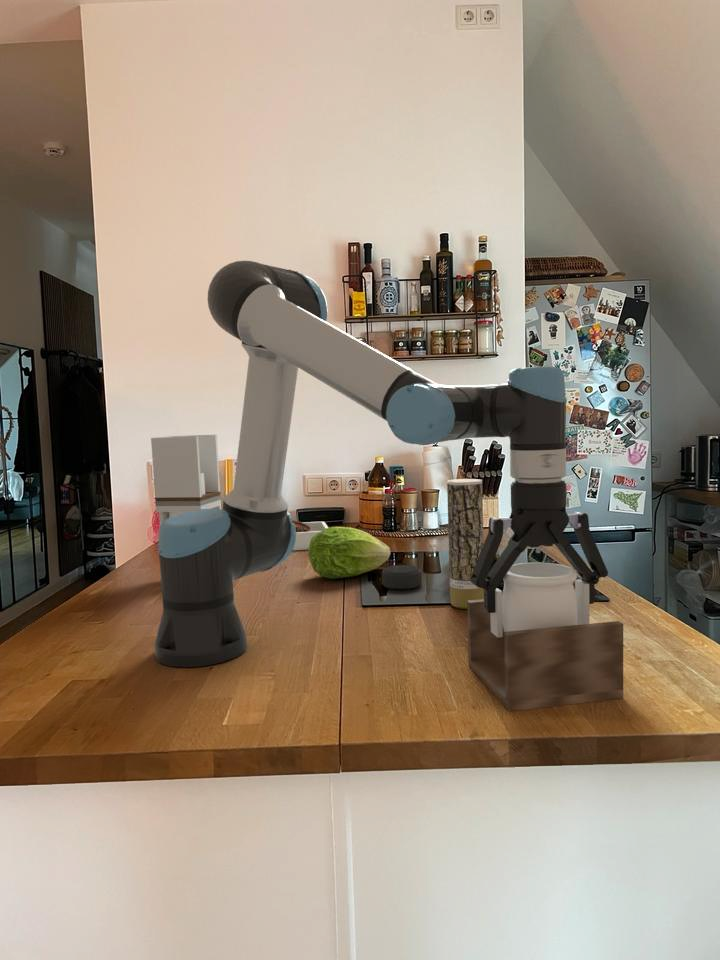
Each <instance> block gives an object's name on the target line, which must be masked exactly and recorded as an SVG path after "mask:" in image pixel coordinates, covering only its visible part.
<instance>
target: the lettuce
mask: <svg viewBox="0 0 720 960" xmlns="http://www.w3.org/2000/svg"><path fill="white" fill-rule="evenodd" d="M307 552H308V558H309V563H310V564H311V568H312V570H313V572H315V573H316V574H318V576H321V577H323V578H326V579H332V580H335V579H343V578H344V579H345V578H353V577H356V576H360V575H361V574H364V573H365V574H366V573H368V572H370V571H373V570H375V569H377V568H378V567H380V566H381V565H382V564H384V563H386V562H387V560H389V559H390V555H391V548H390V547H389V546H388V545H387V544H386V543H384V542H383V541H381V540H379V539H378V538H377V537H375V536H373V535H372V534H370V533H368V532H366V531H364V530H362V529H359V528H358V529H357V528H355V527H354V528H353V527H349V526H330V527H328V528H327V529H324V530H323V531H321V532H319V533H318V534H316V535H315V536H313V537H312V538H311V541H310V545H309V549H307Z"/></svg>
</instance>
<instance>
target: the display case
mask: <svg viewBox="0 0 720 960" xmlns="http://www.w3.org/2000/svg"><path fill="white" fill-rule="evenodd" d="M150 442H151V443H150V445H151V458H152V471H153V485H154V487H153V489H154V499H155V512H156V513H158V520H159V527H160V526H161V524H162V523H163V522H164V521H165V520H167V519H168V518H170V517H173V516H175V515H178V514H181V513H185V512H189V511H196V510H201V509H222V498H221V483H220V482H221V481H220V465H219V450H218V449H219V447H218V446H219V445H218V435H217V434H193V435H190V434H189V435H169V436H160V437H159V436H158V437H150ZM160 586H161V588H162V584H161V583H160Z"/></svg>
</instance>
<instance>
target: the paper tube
mask: <svg viewBox="0 0 720 960" xmlns="http://www.w3.org/2000/svg"><path fill="white" fill-rule="evenodd" d="M446 485H447V487H446V488H447V489H446V491H447V492H446V493H447V531H448V565H449V567H448V568H449V571H448V572H449V596H450V597H449V599H450V600H449V601H450V604H451V605H452V606H453V607H454V608H457V609H462V610H467V601H468V600H480V599H484V590H483V588H479V587H477V586H475V585H474V584H473V583H471V581H470V577H471V575H472V572H473V570H474V567H475V565H476V562H477V560H478V557H479V555H480V552H481V550H482V547H483V545H484V508H483V507H484V505H483V503H484V501H483V500H484V499H483V479H480V478H479V479H477V478H456V479H455V478H454V479H449V480H447V483H446Z"/></svg>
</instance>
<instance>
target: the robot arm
mask: <svg viewBox="0 0 720 960" xmlns="http://www.w3.org/2000/svg"><path fill="white" fill-rule="evenodd" d="M207 306H208V309H209V312H210V315H211V317H212V319H213V321H214V322H215V323H216V324H217V325H218V326H219V327H220V328H221V329H222V330H224V331H225V332H226V333H228V334H230V335H231V336H232V337H235V338H236V339H238V340H239V341H241V347H242V349H244V351H245V352H246V353H247V356H248V363H247V370H246V372H247V373H246V379H245V380H246V381H245V388H244V395H243V396H244V398H243V404H242V405H243V406H242V413H241V414H242V415H241V421H240V422H241V424H240V432H239V438H238V439H239V441H238V448H237V456H236V466H235V473H234V481H233V489H232V490H230V491H229V492H228V493H227V494H226V495H224V497H223V501H222V503H223V504H222V508H221V509H201V510H196V511H189V512H185V513H181V514H178V515H175V516H173V517H170V518H168V519H167V520H165V521H164V522H163V523H162V524H161V526H160V525H159V528H158V544H157V553H158V556H159V557H158V559H159V570H160V585H161V584H162V587H161V597H162V614H161V617H160V622H159V626H158V629H157V634H156V637H155V641H154V655H155V656H154V657H155V660H156V661H157V662H158V663H160V664H163V665H165V666H169V667H175V668H176V667H179V668H194V667H195V668H197V667H205V666H206V667H207V666H210V665H211V666H212V665H216V664H220V663H224V662H227V661H230V660H233V659H235V658H237V657H239V656H241V655H242V654H243V653H245V652H246V650H247V649H248V639H247V638H248V637H247V636H248V635H247V632H246V629H245V627H244V625H243V622H242V620H241V617H240V614H239V612H238V610H237V607H236V603H235V596H234V595H235V594H234V581H235V580H239V579H242V578H244V577H248V576H251V575H254V574H257V573H260V572H261V573H262V572H267V571H270V570H272V569H273V568H274V567H276V566H278V565H280V564H282V563H284V562H285V560H287V559H288V558H289V556H290V555H291V554H292V552H293V551H294V550H293V547H294V544H295V540H296V528H295V524H294V523H292V521H291V520H293V518H292V515H291V514H290V513H289V511H288V510H289V509H288V507H289V504H288V502H287V500H285V498H284V497H283V496H282V490H283V481H284V475H285V467H286V460H287V451H288V445H289V439H290V430H291V424H292V416H293V415H292V414H293V408H294V403H295V394H296V388H297V387H296V386H297V380H298V379H297V378H298V371H299V369H300V370H302V371H303V372H305V373H306V374H309V375H310V376H312V377H313V378H315V379H317V380H319V381H320V382H322V383H323V384H325V385H327V386H329V388H331V389H333V390H335V391H337V393H340V394H342V395H343V396H344V397H347V398H348V399H350V400H351V401H352V402H355V403H357V404H358V405H359V406H361V407H363V408H364V409H366V410H368V411H370V412H371V413H373V414H375V416H377V417H379V418H381V419H383V420H385V421H386V422H387V425H388V427H389V428H390V430H391V432H392V434H393V435H394V436H395V437H396V438H397V439H398V440H400V441H402V442H404V443H407V444H410V445H420V446H429V445H433V444H437V443H442V442H448V441H455V440H456V441H457V440H464V439H476V438H479V439H481V438H509V461H510V463H509V465H510V466H509V467H510V468H509V471H510V474H509V475H510V476H509V477H511V478H513V479H514V480H513V481H512V482H511V483H510V508H511V512H510V515H509V517H508V518H507V517H506V518H505V517H504V518H503V517H496V516H491V517H490V518H489V519H488V533H487V535H486V538H485V540H484V541H483V543H484V545H483V547H482V550H481V552H480V555H479V557H478V560H477V562H476V565H475V567H474V570H473V572H472V575H471V577H470V581H471V583H473V584H474V585H475V586H477V587H479V588H483V590H484V608H485V610H486V611H487V612H488V613H490V620H491V632H492V633H493V634H494V635H495V636H496V637H497V638H499V637H503V625H502V594H503V590H501V589H500V588H499V586H500V584H501V583H502V581H504V579H503V578H504V577H505V575H506V574H507V572H508V571H509V569H510V568H511V567H512V565H513V564H515V562H516V561H517V560H518V558H519V556H521V553H523V552H524V551H526V549H527V548H528V547H529V548H538V547H541V546H544V547H553V545H555V547H556V548H557V549H558V550H559V552H560V553H561V554H562V555H563V556H564V558H565V560H567V562H568V563H569V564H570V566H571V567H572V568H574V569H576V570H577V575H579V577H580V578H581V579H580V578H579V579H576V580H575V581H574V589H575V593H576V599H577V625H582V624H590V605H593V604H594V603H595V599H596V598H595V593H596V592H595V588H596V587H595V585H596V584H599V582H600V579H601V578H607V576H608V575H609V571H608V569H607V566H606V564H605V561H604V560H603V558H602V555H601V552H600V551H599V548H598V546H597V544H596V541H595V539H594V536H593V534H592V532H591V530H590V521H589V515H588V513H585V512H581V511H579V510H574V511H573V512H572V513H568V512H567V501H568V500H567V499H568V498H567V482H566V481H565V480H562V479H563V478H566V475H567V448H566V446H567V445H566V444H567V442H566V437H567V436H566V432H567V429H566V427H567V403H568V399H567V395H566V385H565V383H566V382H565V374H564V371H563V370H562V369H561V368H559V367H556V366H532V367H531V366H530V367H520V368H517V367H516V368H513V369H511V370H510V371H509V374H508V379H507V382H506V383H504V382H503V383H499V384H481V385H480V384H479V385H478V384H477V385H450V384H447V385H446V384H439V383H437V382H434V381H433V380H431V379H429V378H427V377H425V376H423V375H422V374H420V373H418V372H416V371H414V370H413V369H411V368H410V367H407V366H405V365H404V364H402V363H401V362H398V361H397V360H395V359H393V358H392V357H389V356H388V355H386V354H384V353H382V352H381V351H379V350H378V349H375V348H373V347H371V346H369V345H368V344H366V343H365V342H363V341H361V340H359V339H357V338H355V337H354V336H352V335H350V334H349V333H347V332H345V331H344V330H341V329H339V328H338V327H336V326H334V325H332V324H330V323H329V322H328V321H327V320H328V303H327V299H326V295H325V294H324V292H323V290H322V288H321V286H319V284H318V282H316V280H315V279H312V278H311V277H310V276H308V275H306V274H303V273H300V272H298V271H296V270H292V269H286V268H281V267H279V266H278V267H277V266H272V265H268V264H264V263H261V262H260V263H259V262H257V261H253V260H238V261H237V260H236V261H233V262H230V263H228V264H226V265H224V266H222V267H221V268H220V269H219V270H218V271H217V272H216V273H215V274H214V276H213V277H212V279H211V282H210V284H209V286H208V290H207ZM568 525H569V526H570V527H571V528H573V530H574V533H575V536H576V538H577V540H578V543H579V545H580V547H581V550H582V551H583V554H584V556H585V559H586V561H587V562H585V560H584V559H583V558H582V557H581V556H580V554H579V553H578V552H577V550H576V549H575V547H573V545H572V544H571V541H570V540H569V538H568V537H567V536H566V535H565V534H564V531H565V530H566V528H567V527H568ZM508 528H510V529H511V531H512V532H513V533H512V535H511V537H510V538H509V540H508V541H507V545H506V547H505V549H504V550H503V551H502V553H501V554H500V555H499V557H498V558H497V560H496V561H495V562H494V560H495V557H496V555H497V553H498V550H499V548H500V545H501V542H502V541H503V535H504V534H506V532H507V530H508ZM292 550H293V551H292ZM493 562H494V564H493ZM587 563H588V565H589V566H588V565H587Z"/></svg>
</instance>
